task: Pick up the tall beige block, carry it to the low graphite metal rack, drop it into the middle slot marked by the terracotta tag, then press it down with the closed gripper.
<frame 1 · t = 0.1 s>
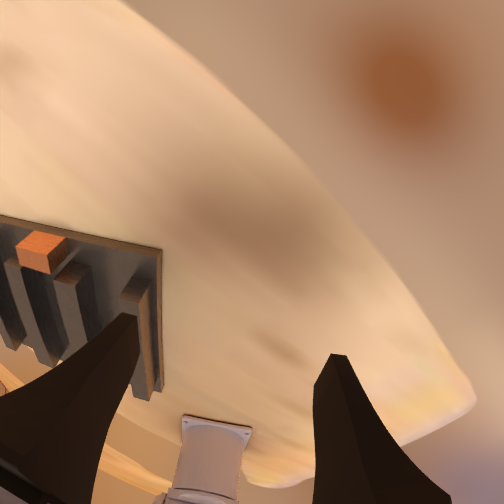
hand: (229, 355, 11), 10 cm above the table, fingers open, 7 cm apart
rack: (70, 306, 25), on the table
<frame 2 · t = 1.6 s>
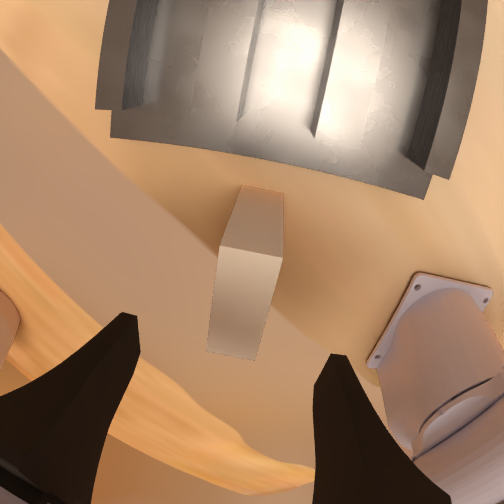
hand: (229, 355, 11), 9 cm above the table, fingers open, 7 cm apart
rack: (297, 16, 13), on the table
tall beige block: (253, 235, 20), on the table
cup: (4, 306, 27), on the table
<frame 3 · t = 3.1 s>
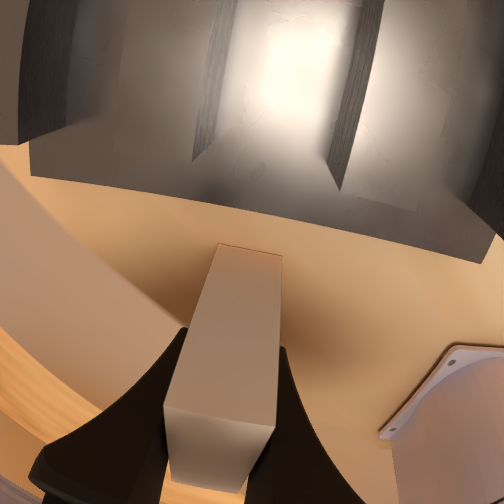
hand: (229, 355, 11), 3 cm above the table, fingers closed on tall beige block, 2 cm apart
tall beige block: (238, 309, 14), on the table, touching gripper
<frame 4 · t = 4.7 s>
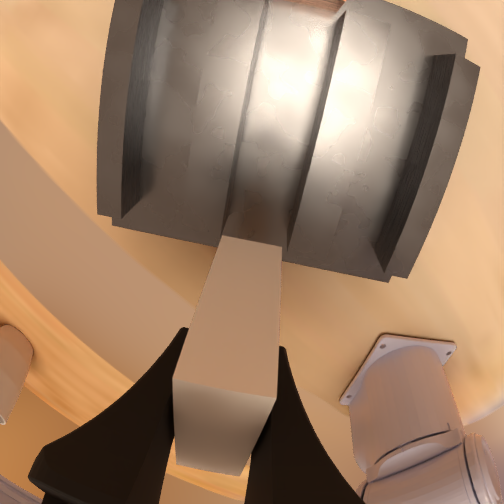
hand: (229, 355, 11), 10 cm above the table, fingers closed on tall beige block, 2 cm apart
rack: (280, 117, 16), on the table
tall beige block: (240, 299, 14), point 6 cm above the table, touching gripper
cup: (18, 339, 30), on the table
when the fingers open (5 cm above the table, at t = 6.3 s): tall beige block stays where it is, resting on rack.
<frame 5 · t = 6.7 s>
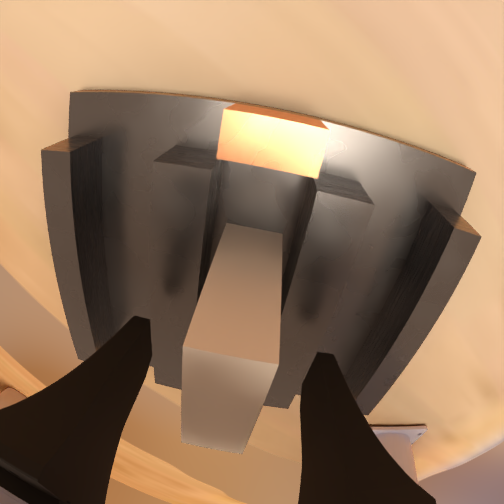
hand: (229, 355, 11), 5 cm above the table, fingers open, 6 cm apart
rack: (245, 273, 16), on the table
tall beige block: (243, 284, 15), point 1 cm above the table, touching rack
cup: (22, 399, 30), on the table
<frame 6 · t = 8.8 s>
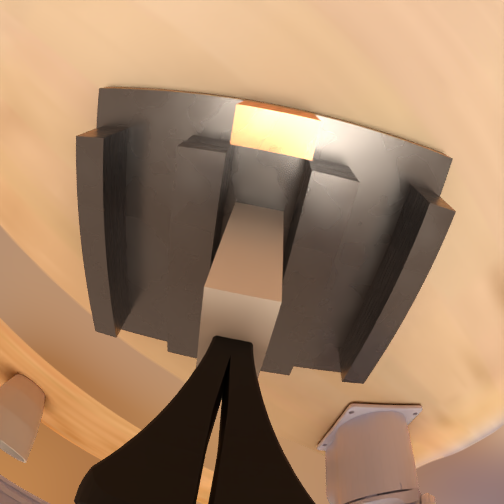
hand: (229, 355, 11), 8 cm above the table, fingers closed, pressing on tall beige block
rack: (251, 248, 18), on the table
tall beige block: (249, 257, 17), point 1 cm above the table, touching gripper, rack
cup: (30, 385, 32), on the table
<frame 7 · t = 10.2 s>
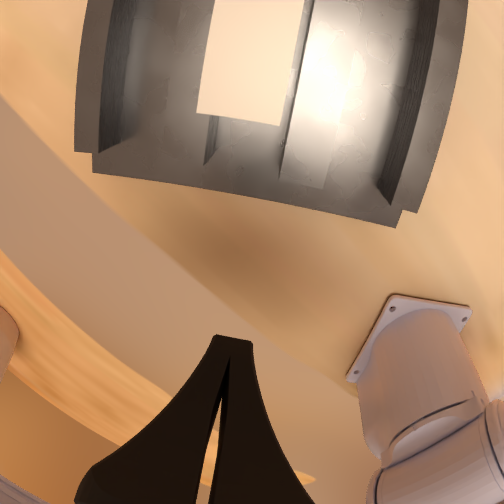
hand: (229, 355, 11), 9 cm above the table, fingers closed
rack: (267, 48, 14), on the table
tall beige block: (266, 45, 13), point 1 cm above the table, touching rack
cup: (4, 319, 28), on the table
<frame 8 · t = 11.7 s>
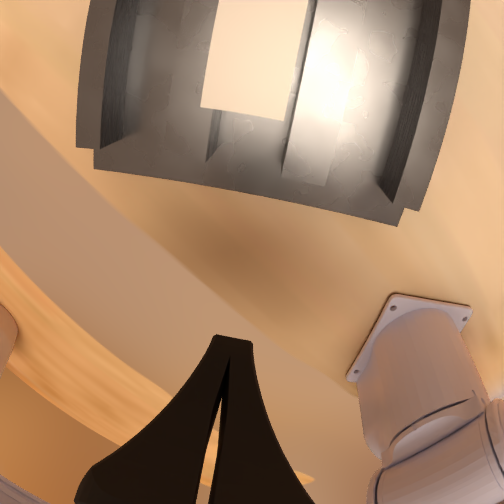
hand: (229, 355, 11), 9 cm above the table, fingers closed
rack: (270, 45, 14), on the table
tall beige block: (269, 43, 13), point 1 cm above the table, touching rack
cup: (3, 317, 28), on the table
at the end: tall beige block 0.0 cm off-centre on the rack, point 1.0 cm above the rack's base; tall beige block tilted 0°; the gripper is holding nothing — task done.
